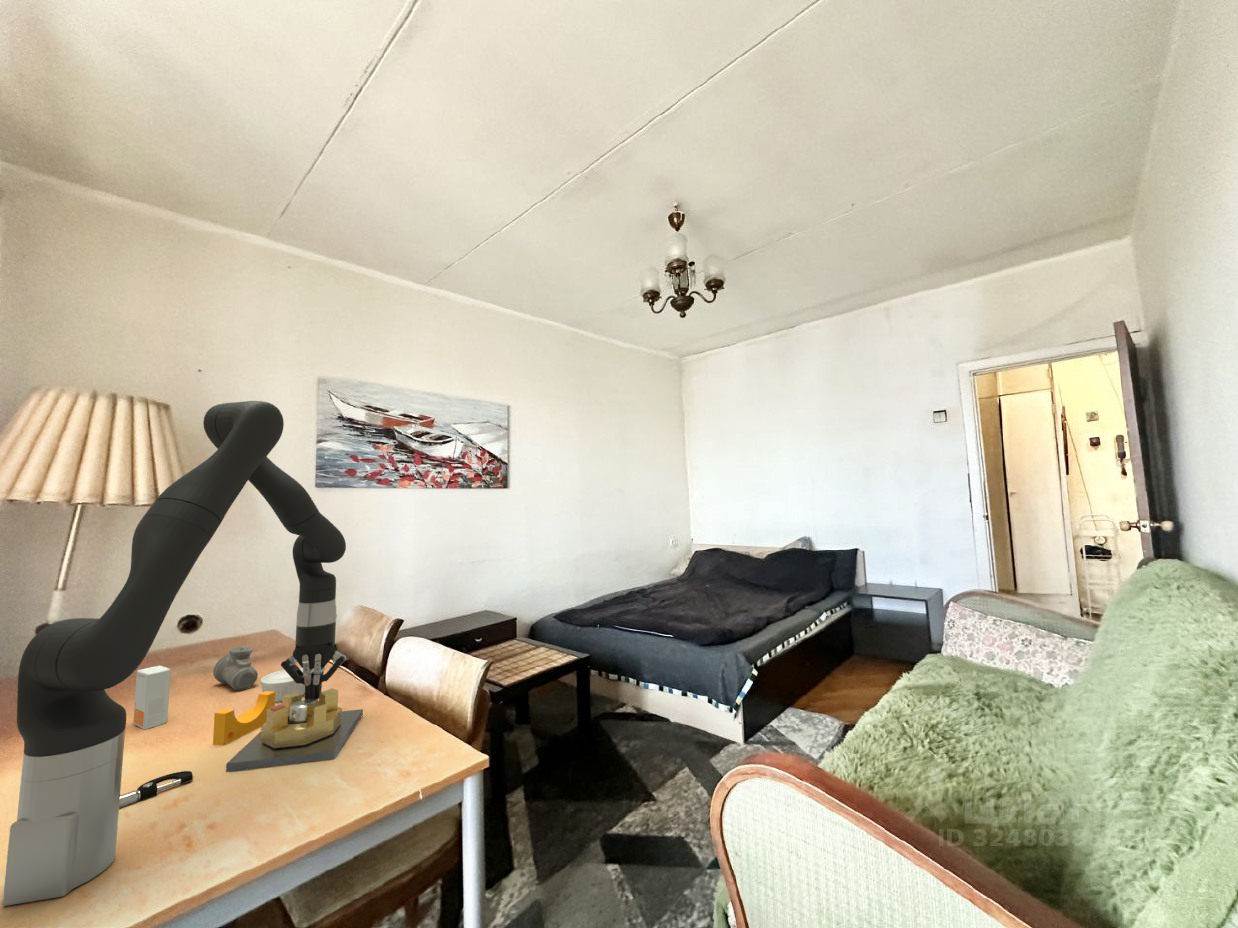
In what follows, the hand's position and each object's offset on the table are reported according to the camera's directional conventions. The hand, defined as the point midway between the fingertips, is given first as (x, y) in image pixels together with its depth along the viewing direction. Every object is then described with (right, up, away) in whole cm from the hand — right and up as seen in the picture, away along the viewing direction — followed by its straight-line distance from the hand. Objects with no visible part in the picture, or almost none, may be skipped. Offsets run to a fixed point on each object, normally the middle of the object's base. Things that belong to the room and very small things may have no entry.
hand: (313, 701), depth 106 cm
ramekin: (-19, -8, +19) cm, 28 cm away
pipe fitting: (-38, -9, +26) cm, 46 cm away
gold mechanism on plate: (+1, -6, -5) cm, 8 cm away
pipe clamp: (-15, -7, -1) cm, 16 cm away
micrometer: (-15, -5, -24) cm, 29 cm away
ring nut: (+1, -4, -5) cm, 7 cm away
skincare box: (-39, -7, +3) cm, 40 cm away
